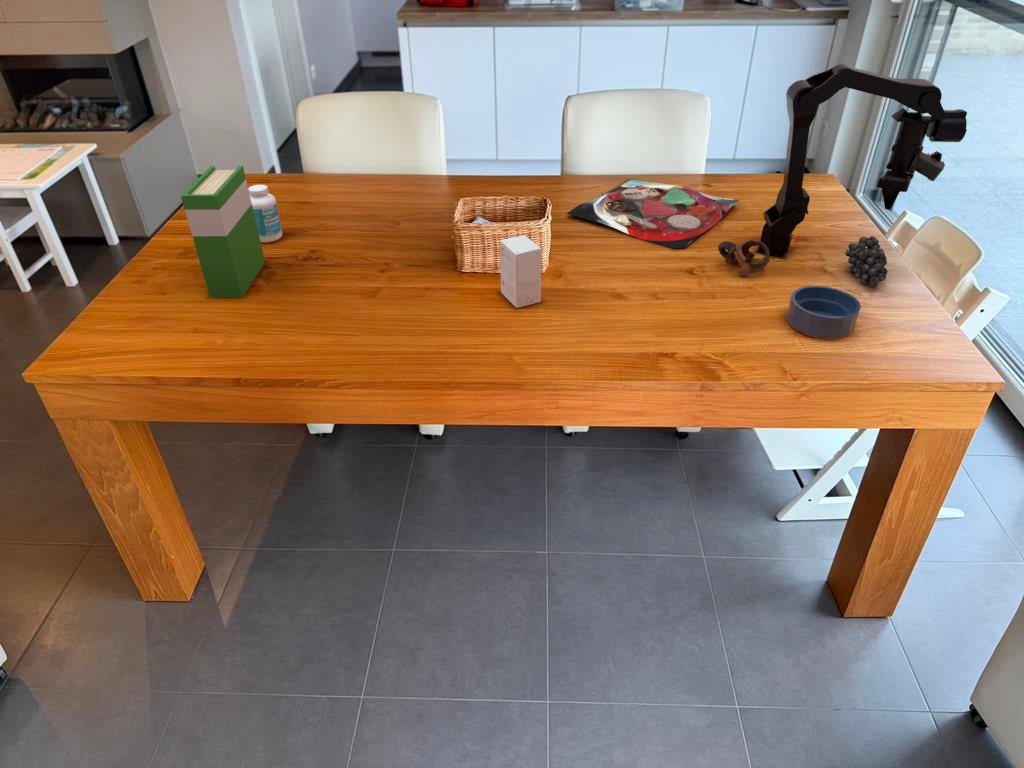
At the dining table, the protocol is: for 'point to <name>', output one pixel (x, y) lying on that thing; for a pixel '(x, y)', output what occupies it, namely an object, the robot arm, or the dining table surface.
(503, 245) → the small box
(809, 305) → the bowl
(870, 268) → the fruit
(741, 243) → the brown looped ring sculpture
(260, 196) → the pill bottle
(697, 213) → the platter
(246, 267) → the hardback book
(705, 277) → the dining table surface
